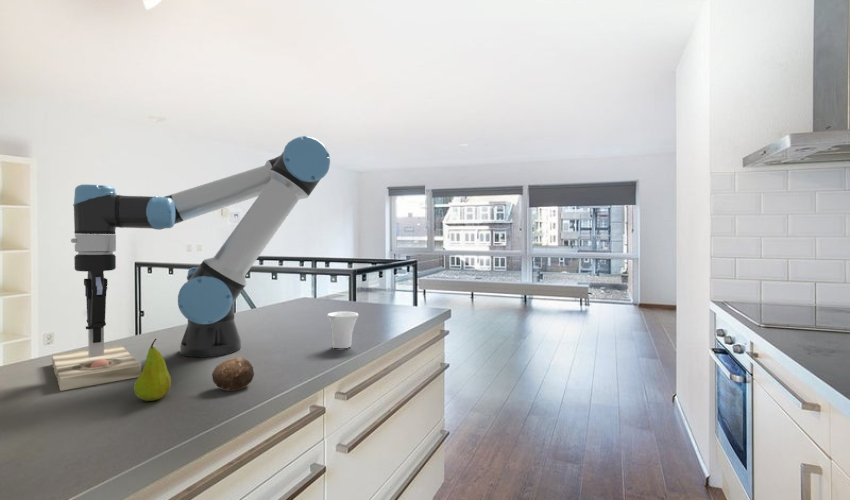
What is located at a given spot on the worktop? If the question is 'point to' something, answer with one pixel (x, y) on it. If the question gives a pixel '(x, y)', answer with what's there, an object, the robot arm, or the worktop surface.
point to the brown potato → (233, 374)
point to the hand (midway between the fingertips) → (96, 355)
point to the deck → (77, 371)
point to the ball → (99, 363)
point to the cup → (342, 328)
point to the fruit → (153, 377)
